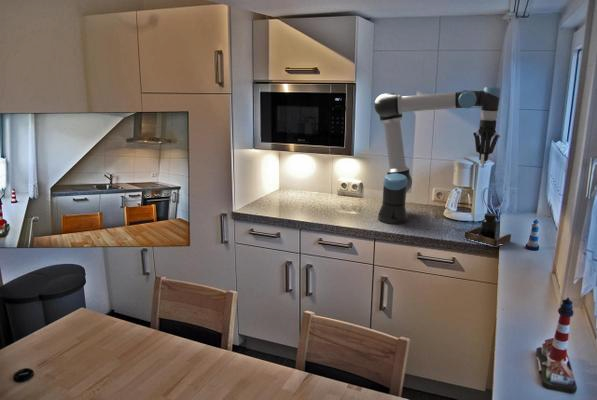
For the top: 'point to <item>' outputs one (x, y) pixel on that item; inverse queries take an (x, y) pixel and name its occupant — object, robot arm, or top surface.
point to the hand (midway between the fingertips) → (482, 167)
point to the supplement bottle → (489, 226)
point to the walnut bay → (473, 236)
